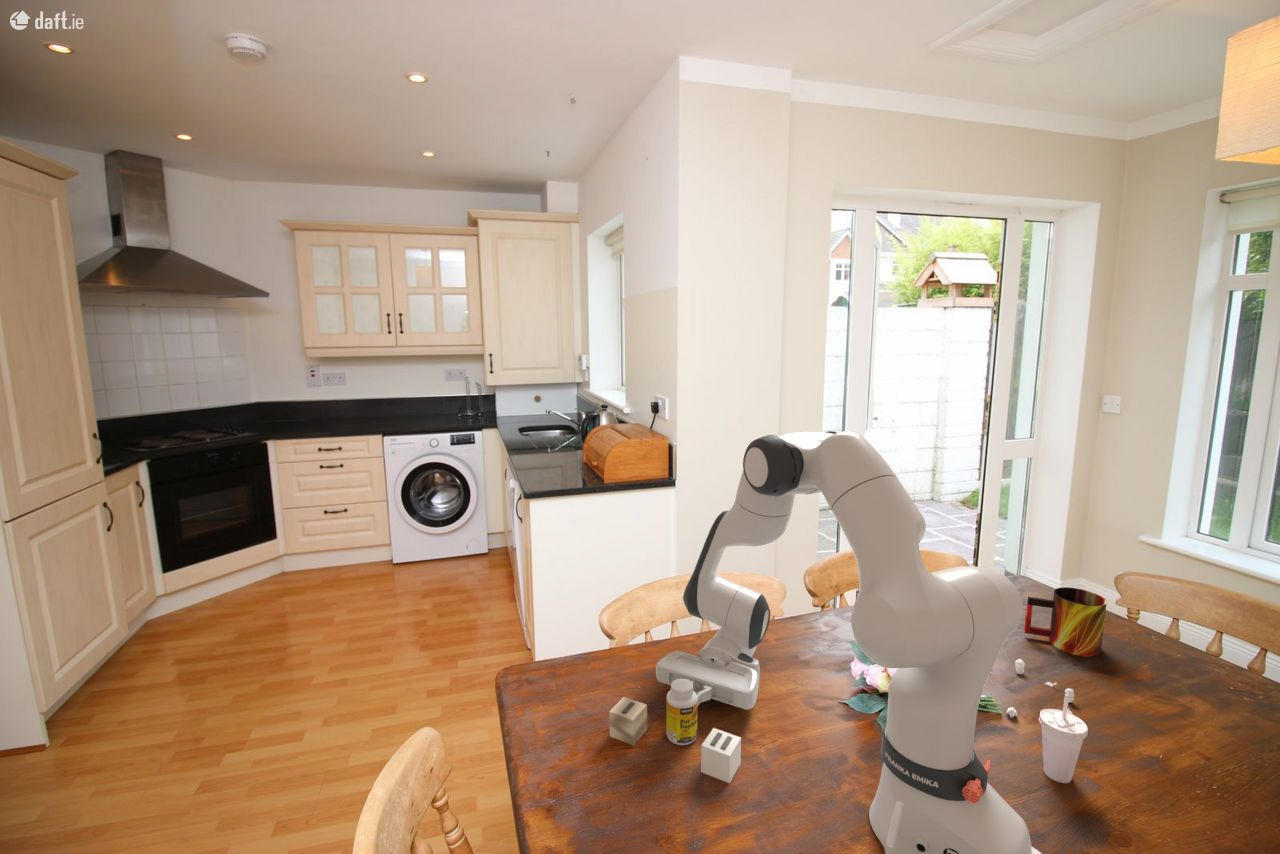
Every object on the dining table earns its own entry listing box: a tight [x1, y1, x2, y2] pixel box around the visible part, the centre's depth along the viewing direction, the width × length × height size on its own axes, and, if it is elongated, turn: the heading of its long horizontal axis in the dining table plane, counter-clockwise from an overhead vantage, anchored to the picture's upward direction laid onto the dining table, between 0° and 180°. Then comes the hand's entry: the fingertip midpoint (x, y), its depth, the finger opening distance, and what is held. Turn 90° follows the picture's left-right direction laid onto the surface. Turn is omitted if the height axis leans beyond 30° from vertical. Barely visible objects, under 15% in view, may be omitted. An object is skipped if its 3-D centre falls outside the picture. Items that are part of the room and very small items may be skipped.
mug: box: [1023, 586, 1108, 658], centre depth 134 cm, size 10×14×12 cm
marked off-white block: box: [700, 727, 742, 784], centre depth 98 cm, size 5×5×5 cm
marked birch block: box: [608, 696, 648, 747], centre depth 107 cm, size 5×5×5 cm
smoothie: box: [1038, 693, 1089, 784], centre depth 95 cm, size 6×6×14 cm
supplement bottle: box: [665, 679, 698, 746], centre depth 105 cm, size 6×6×10 cm
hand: (689, 700), depth 108 cm, fingers closed
